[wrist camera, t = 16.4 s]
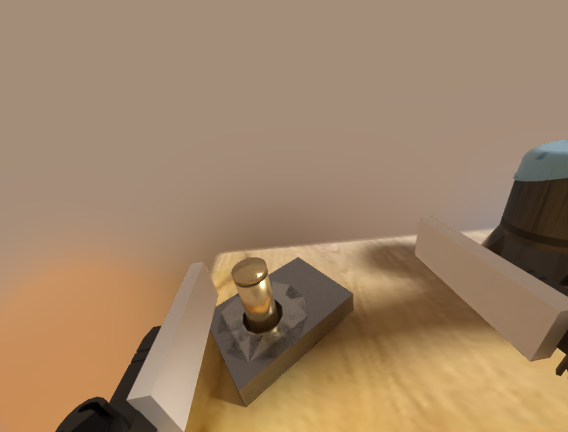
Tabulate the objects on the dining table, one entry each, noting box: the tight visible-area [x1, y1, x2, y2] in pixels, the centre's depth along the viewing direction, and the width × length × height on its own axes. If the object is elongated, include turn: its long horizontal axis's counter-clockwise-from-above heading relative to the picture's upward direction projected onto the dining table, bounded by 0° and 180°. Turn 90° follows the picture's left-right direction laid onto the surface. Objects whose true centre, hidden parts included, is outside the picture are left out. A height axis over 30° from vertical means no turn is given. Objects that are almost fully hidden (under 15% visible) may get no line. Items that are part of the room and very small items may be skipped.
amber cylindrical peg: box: [231, 257, 280, 334], centre depth 34 cm, size 5×5×14 cm
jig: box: [210, 257, 353, 407], centre depth 38 cm, size 22×15×4 cm
